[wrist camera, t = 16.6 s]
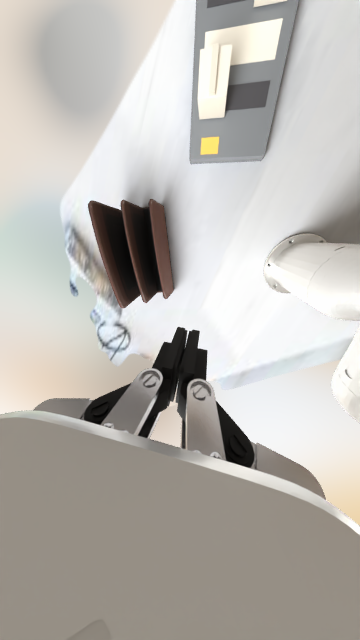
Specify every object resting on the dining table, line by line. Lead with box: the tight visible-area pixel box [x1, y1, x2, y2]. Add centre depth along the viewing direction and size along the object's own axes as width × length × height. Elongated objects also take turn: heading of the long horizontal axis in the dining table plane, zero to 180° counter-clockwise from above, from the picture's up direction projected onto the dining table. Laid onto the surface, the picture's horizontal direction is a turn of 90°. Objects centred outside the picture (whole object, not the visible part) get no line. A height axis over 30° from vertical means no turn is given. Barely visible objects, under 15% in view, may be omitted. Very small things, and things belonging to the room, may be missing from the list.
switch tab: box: [198, 44, 232, 119], centre depth 21 cm, size 4×4×5 cm
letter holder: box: [88, 199, 174, 308], centre depth 32 cm, size 10×20×14 cm, turn 6°
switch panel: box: [190, 0, 299, 164], centre depth 21 cm, size 13×22×2 cm, turn 179°
